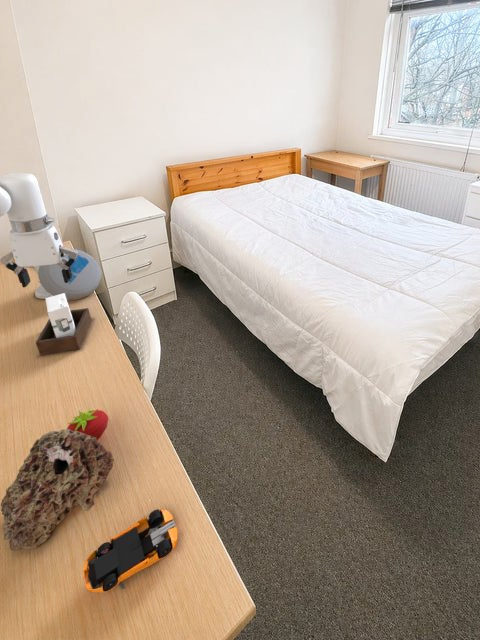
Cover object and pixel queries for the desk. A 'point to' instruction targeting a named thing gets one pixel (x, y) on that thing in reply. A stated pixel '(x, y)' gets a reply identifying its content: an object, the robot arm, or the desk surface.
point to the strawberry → (90, 423)
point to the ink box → (60, 315)
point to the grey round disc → (82, 279)
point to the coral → (53, 485)
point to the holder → (53, 345)
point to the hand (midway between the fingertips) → (47, 282)
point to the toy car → (130, 552)
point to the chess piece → (41, 289)
